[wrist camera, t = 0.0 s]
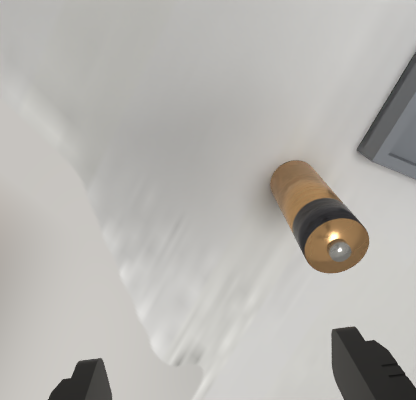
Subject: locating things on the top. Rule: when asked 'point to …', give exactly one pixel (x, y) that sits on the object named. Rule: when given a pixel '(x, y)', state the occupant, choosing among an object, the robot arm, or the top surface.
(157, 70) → the top surface
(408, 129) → the tray
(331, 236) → the battery cell
